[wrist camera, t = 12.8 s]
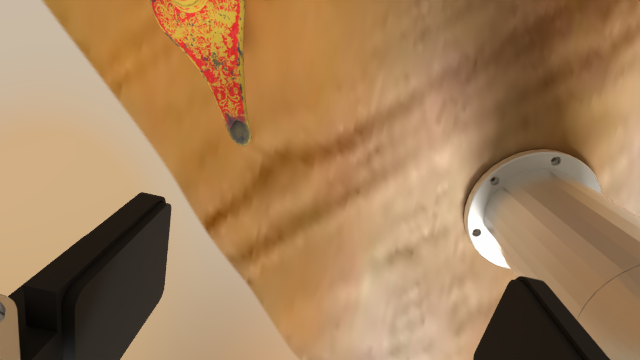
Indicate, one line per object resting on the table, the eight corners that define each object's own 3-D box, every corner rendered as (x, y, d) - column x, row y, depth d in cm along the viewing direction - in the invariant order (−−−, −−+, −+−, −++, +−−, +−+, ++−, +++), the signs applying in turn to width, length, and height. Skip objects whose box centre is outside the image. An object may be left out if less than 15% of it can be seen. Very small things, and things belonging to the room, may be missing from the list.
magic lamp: (226, 136, 35) (184, 180, 25) (132, -80, 29) (26, -140, 19) (295, 114, 34) (281, 149, 24) (213, -115, 28) (148, -197, 18)
